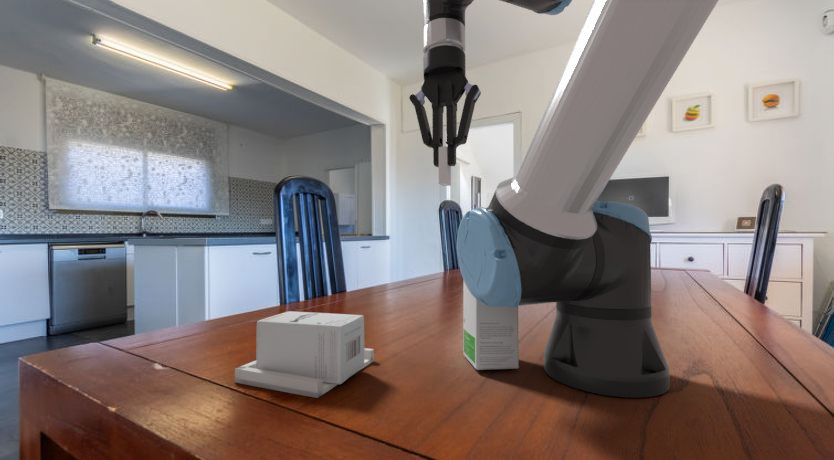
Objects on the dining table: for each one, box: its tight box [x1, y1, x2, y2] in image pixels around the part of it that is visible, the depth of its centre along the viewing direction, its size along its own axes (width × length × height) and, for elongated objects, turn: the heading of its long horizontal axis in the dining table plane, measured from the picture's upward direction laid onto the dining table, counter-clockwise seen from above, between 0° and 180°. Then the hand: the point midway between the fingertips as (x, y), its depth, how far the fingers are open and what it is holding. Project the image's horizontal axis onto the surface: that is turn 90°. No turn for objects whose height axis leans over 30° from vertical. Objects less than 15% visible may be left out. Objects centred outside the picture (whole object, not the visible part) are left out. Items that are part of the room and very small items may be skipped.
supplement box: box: [255, 310, 365, 385], centre depth 50 cm, size 7×7×13 cm
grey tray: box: [234, 347, 375, 399], centre depth 51 cm, size 13×14×2 cm
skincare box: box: [462, 280, 520, 371], centre depth 55 cm, size 8×7×16 cm
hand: (444, 184), depth 64 cm, fingers closed
